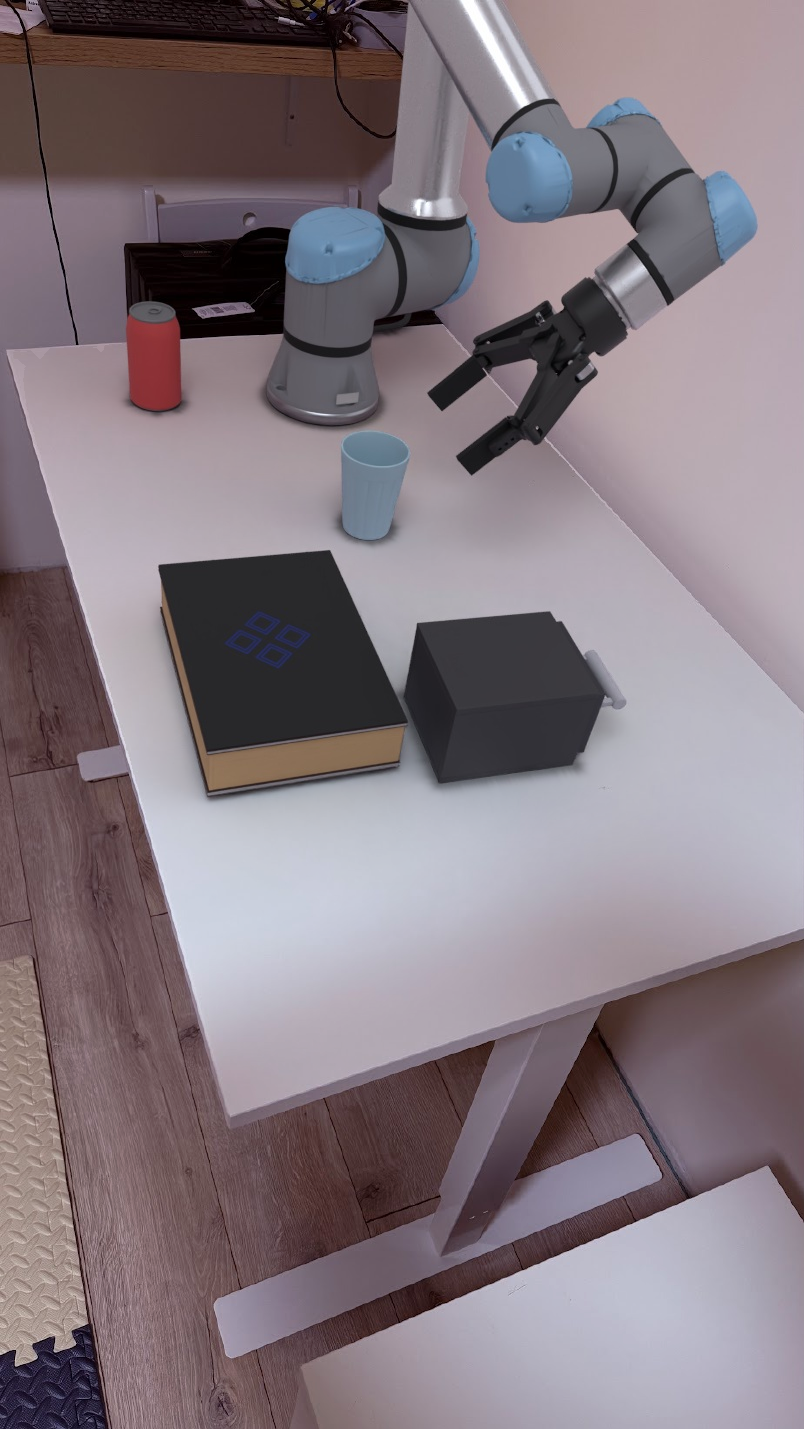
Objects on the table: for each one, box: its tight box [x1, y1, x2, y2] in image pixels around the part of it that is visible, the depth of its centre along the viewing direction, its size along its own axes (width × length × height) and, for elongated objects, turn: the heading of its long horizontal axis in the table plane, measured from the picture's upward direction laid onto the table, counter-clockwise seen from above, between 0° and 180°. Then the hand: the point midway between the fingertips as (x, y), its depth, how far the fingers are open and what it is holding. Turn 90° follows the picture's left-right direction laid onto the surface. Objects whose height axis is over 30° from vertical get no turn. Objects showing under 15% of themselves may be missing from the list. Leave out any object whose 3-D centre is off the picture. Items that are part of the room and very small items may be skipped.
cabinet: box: [403, 610, 599, 784], centre depth 94 cm, size 13×11×9 cm
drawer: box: [556, 620, 627, 754], centre depth 95 cm, size 16×10×8 cm, turn 107°
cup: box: [340, 429, 411, 541], centre depth 115 cm, size 8×8×10 cm
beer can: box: [125, 300, 182, 412], centre depth 128 cm, size 7×7×12 cm
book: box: [157, 549, 409, 798], centre depth 95 cm, size 17×25×7 cm
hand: (448, 433), depth 112 cm, fingers open, 13 cm apart
